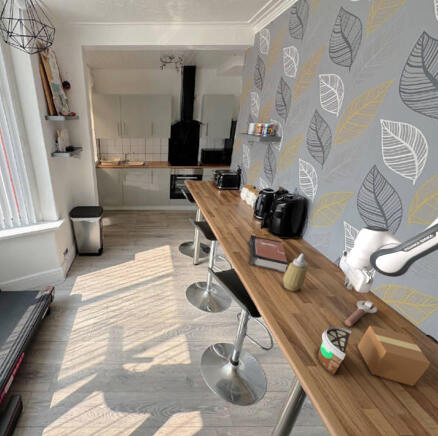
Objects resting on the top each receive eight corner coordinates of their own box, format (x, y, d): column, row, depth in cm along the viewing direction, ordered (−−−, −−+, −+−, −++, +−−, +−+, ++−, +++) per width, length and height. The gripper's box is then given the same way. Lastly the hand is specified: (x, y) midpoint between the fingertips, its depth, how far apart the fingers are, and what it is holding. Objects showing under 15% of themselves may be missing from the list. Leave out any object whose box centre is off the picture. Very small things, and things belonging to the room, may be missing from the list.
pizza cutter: (355, 333, 86) (358, 327, 85) (337, 321, 91) (339, 316, 90) (377, 311, 96) (380, 305, 95) (359, 301, 101) (362, 296, 99)
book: (287, 273, 118) (290, 264, 116) (250, 264, 123) (252, 256, 121) (280, 248, 140) (282, 240, 138) (249, 242, 146) (251, 235, 144)
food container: (318, 340, 82) (328, 319, 78) (340, 352, 78) (351, 330, 74) (309, 363, 74) (319, 341, 70) (332, 378, 70) (345, 355, 66)
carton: (393, 356, 78) (408, 334, 73) (413, 386, 69) (431, 363, 65) (357, 346, 81) (369, 325, 76) (371, 373, 72) (386, 351, 68)
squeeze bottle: (300, 296, 103) (313, 261, 95) (280, 288, 107) (291, 255, 99) (301, 285, 109) (313, 252, 102) (281, 279, 113) (292, 247, 106)
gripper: (382, 277, 89) (367, 305, 95) (358, 251, 107) (347, 275, 112) (362, 273, 91) (348, 301, 97) (342, 248, 109) (331, 272, 114)
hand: (347, 287), depth 105 cm, fingers closed
